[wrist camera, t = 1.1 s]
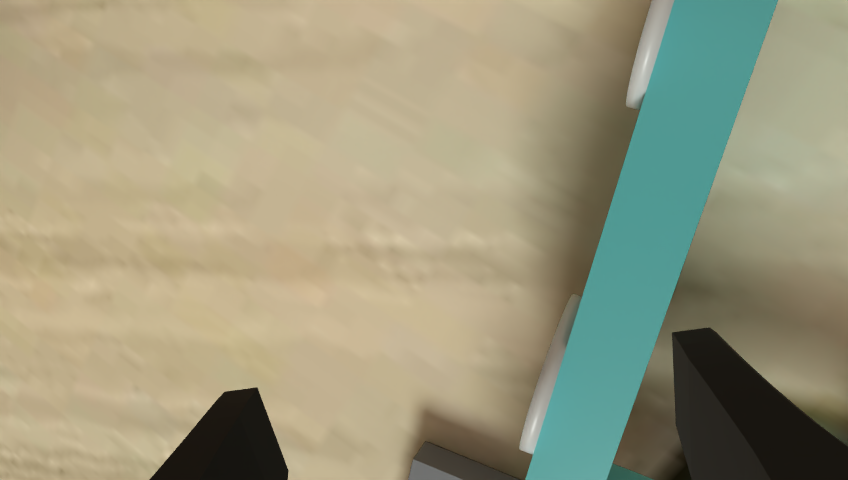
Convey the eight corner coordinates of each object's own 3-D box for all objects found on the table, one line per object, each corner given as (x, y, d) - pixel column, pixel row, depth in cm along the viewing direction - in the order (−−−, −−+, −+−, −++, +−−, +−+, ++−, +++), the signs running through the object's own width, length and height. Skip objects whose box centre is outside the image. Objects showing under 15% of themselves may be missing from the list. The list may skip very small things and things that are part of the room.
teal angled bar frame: (543, 407, 26) (500, 502, 21) (703, -111, 20) (694, -141, 16) (878, 534, 24) (916, 675, 19) (1172, -20, 18) (1338, -25, 13)
